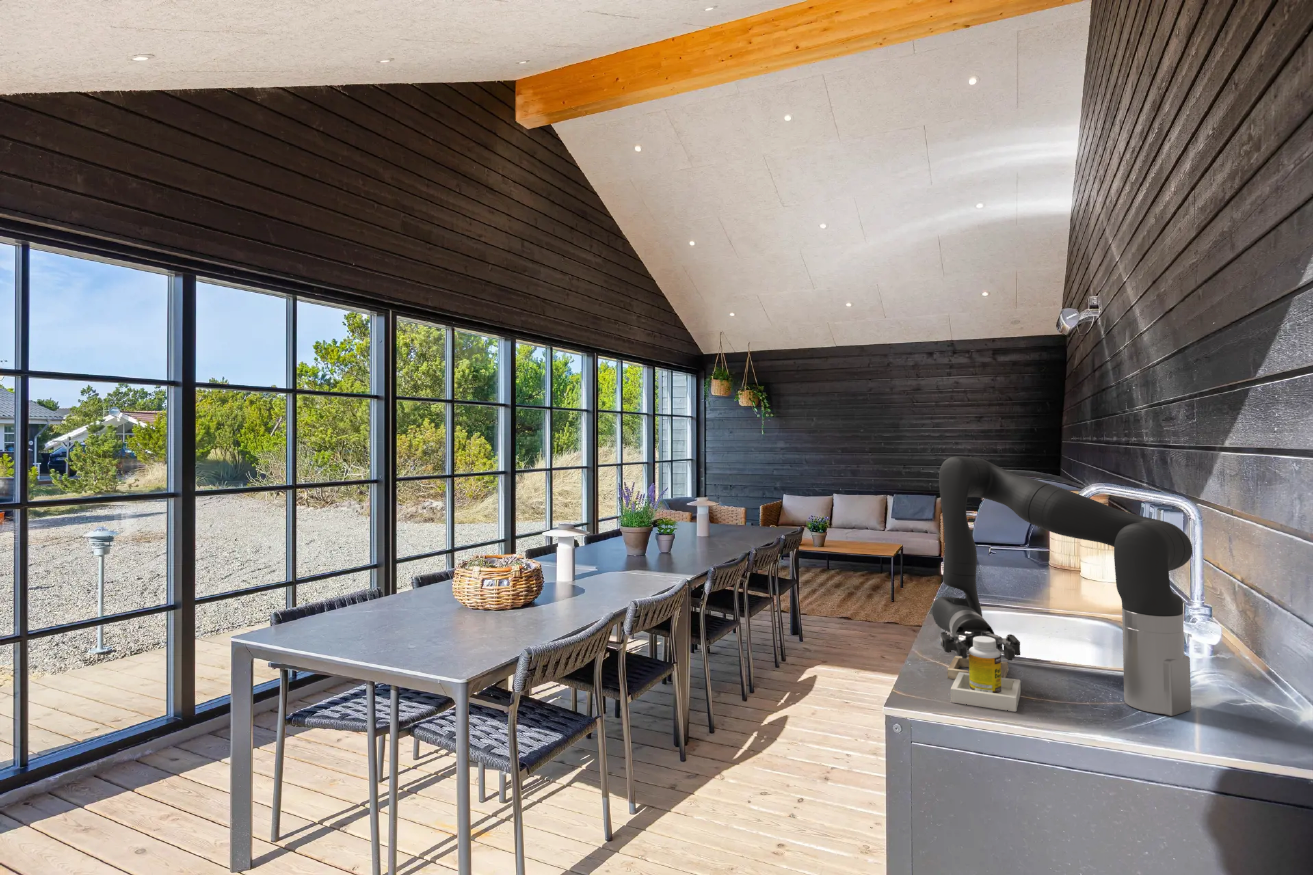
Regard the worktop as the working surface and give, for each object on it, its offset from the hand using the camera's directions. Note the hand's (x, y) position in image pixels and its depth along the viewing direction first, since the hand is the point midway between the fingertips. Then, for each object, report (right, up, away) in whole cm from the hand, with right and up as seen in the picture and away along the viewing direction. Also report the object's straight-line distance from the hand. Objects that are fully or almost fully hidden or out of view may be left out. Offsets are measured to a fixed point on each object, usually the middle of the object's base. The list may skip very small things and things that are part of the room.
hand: (987, 654), depth 138 cm
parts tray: (+1, -9, +2) cm, 9 cm away
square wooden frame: (+5, -9, +15) cm, 18 cm away
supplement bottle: (+1, -8, +2) cm, 8 cm away
